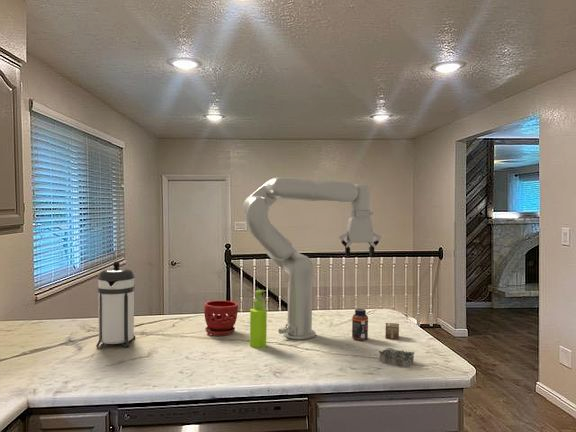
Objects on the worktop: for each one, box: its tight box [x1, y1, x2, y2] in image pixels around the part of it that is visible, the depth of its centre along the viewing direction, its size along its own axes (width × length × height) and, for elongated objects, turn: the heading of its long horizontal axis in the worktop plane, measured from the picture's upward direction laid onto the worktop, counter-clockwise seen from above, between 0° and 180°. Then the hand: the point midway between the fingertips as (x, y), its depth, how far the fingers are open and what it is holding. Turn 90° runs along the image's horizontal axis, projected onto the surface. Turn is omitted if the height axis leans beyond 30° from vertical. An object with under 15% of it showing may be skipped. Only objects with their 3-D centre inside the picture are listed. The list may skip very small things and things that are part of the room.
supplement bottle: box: [351, 308, 369, 342], centre depth 177 cm, size 6×6×11 cm
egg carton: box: [378, 347, 415, 368], centre depth 152 cm, size 11×8×4 cm
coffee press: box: [95, 261, 136, 350], centre depth 168 cm, size 17×16×30 cm
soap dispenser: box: [249, 289, 268, 349], centre depth 167 cm, size 6×7×20 cm
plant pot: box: [203, 300, 239, 337], centre depth 183 cm, size 13×13×12 cm
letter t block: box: [384, 322, 400, 340], centre depth 179 cm, size 5×5×5 cm
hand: (359, 256), depth 186 cm, fingers open, 9 cm apart
